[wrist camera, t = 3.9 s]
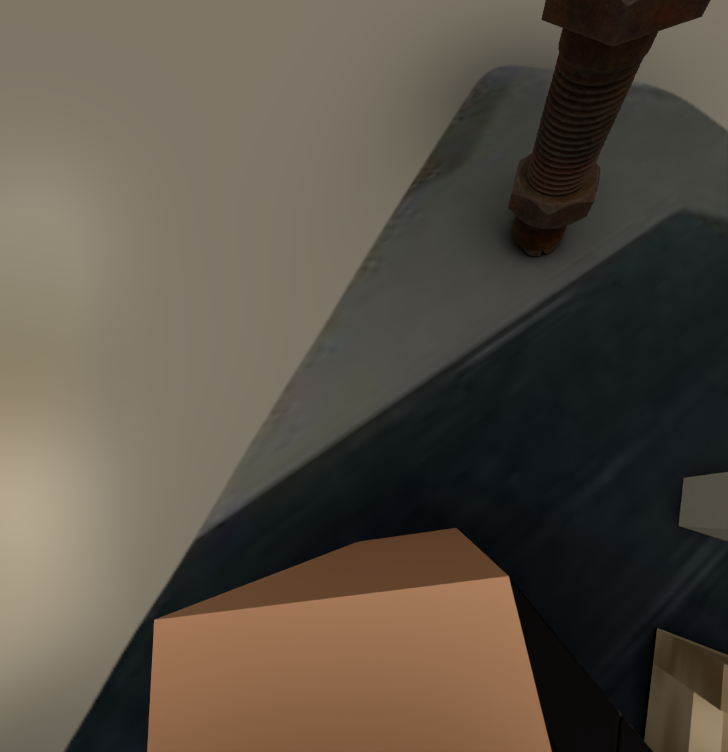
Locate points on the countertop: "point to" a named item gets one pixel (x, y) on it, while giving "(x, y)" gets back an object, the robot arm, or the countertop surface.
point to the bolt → (584, 108)
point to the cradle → (687, 697)
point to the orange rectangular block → (352, 658)
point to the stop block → (705, 505)
